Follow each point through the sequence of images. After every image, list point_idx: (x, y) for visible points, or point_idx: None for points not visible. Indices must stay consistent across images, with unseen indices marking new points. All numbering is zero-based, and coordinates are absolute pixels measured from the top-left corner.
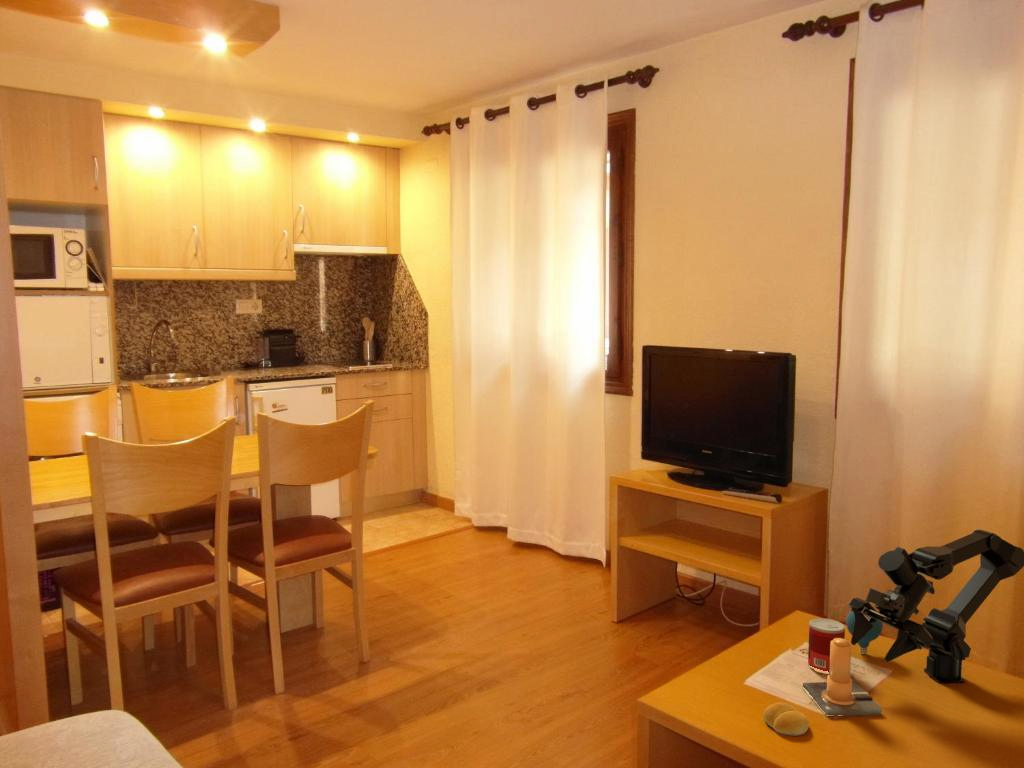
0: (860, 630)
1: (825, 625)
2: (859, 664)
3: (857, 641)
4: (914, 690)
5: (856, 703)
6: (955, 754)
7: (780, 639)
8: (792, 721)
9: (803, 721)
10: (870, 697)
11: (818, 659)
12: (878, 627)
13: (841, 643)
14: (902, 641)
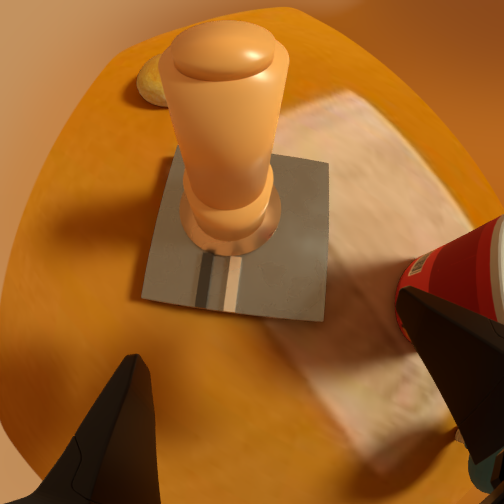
0: (466, 361)
1: None
2: (427, 406)
3: (412, 333)
4: (266, 482)
5: (183, 238)
6: (5, 336)
7: None
8: (145, 63)
9: (139, 78)
10: (197, 300)
11: (429, 255)
12: (485, 482)
13: (190, 33)
14: (37, 489)
